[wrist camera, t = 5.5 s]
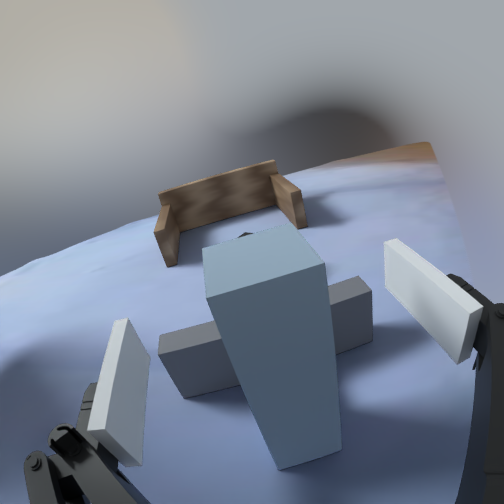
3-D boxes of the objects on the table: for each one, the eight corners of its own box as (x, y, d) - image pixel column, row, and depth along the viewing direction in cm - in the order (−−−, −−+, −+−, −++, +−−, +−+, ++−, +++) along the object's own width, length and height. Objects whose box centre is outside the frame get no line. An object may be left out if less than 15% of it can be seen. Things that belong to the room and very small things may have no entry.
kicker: (188, 488, 14) (59, 337, 9) (183, 378, 22) (113, 234, 17) (423, 413, 15) (454, 219, 10) (361, 324, 23) (346, 168, 18)
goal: (166, 267, 41) (148, 217, 37) (172, 231, 52) (159, 192, 49) (307, 226, 42) (297, 174, 38) (282, 200, 53) (273, 159, 50)
